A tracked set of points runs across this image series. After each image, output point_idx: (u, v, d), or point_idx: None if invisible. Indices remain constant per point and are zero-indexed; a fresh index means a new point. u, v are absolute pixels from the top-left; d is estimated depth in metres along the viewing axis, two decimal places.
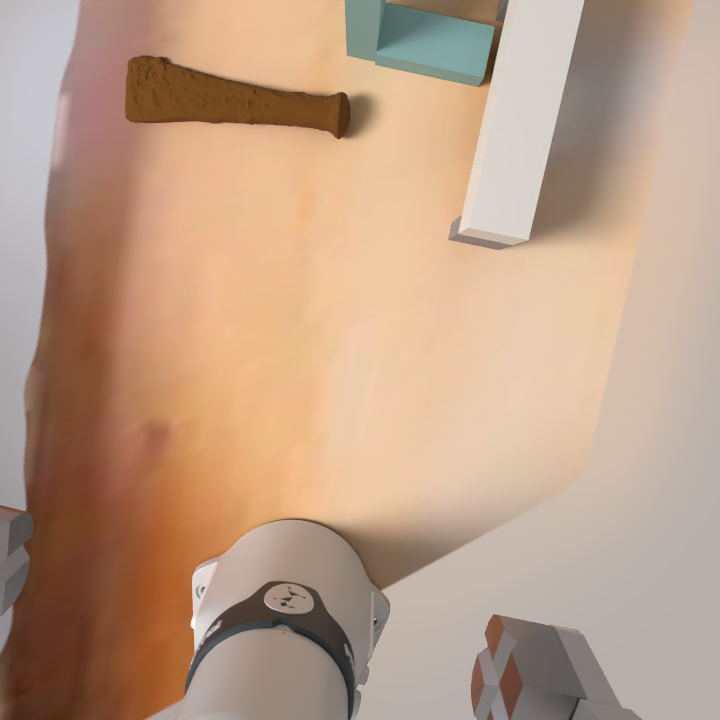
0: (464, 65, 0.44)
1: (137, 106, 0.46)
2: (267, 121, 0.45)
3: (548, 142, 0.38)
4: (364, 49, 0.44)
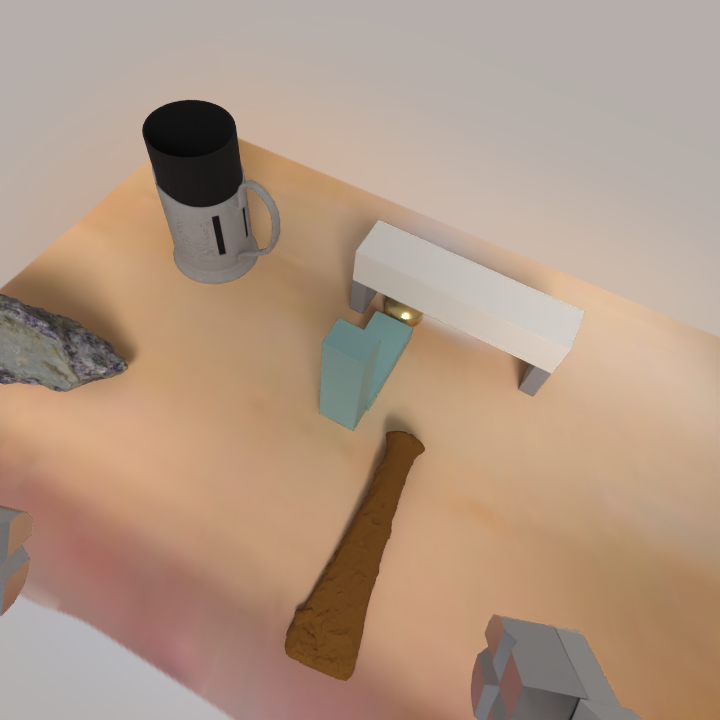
0: (399, 338, 0.51)
1: (339, 659, 0.39)
2: (393, 512, 0.44)
3: (509, 279, 0.47)
4: (362, 409, 0.47)
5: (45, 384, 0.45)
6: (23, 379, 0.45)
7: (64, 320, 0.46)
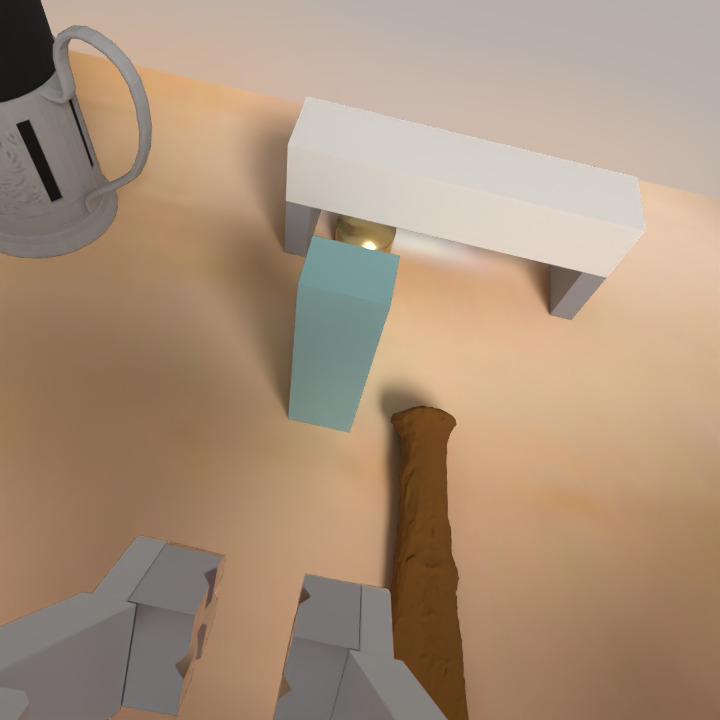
0: None
1: None
2: None
3: (524, 151, 0.31)
4: None
5: None
6: None
7: None
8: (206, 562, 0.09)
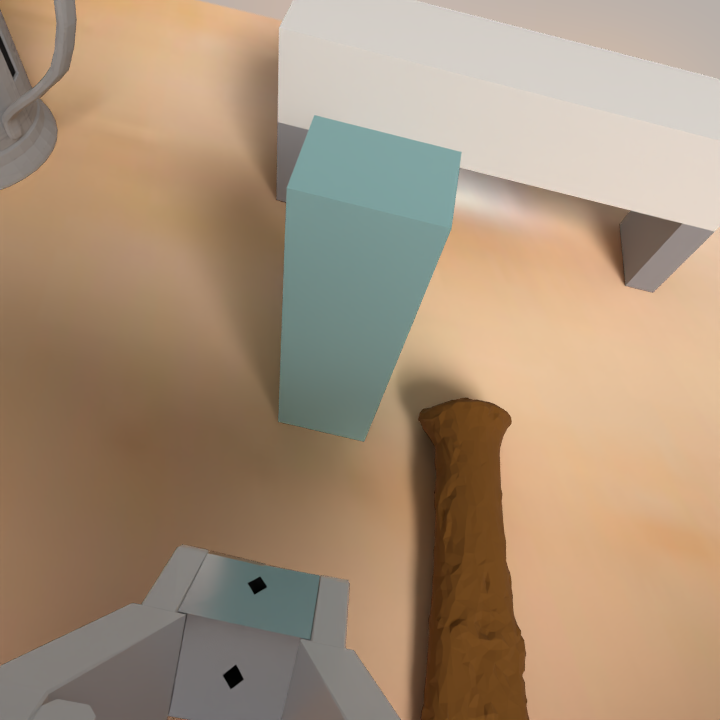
0: None
1: None
2: (508, 588, 0.18)
3: (609, 52, 0.23)
4: None
5: None
6: None
7: None
8: (248, 571, 0.09)
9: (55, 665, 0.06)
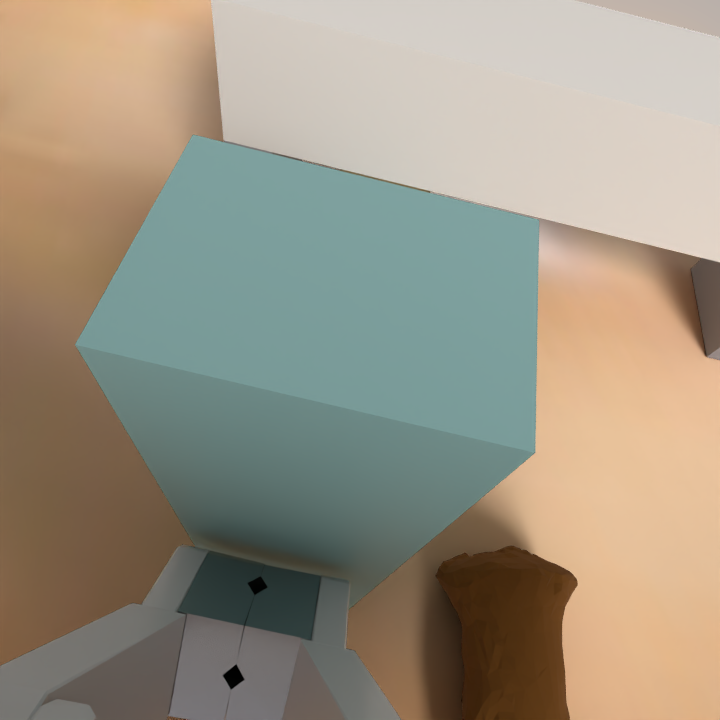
0: None
1: None
2: None
3: (708, 37, 0.15)
4: None
5: None
6: None
7: None
8: (249, 571, 0.09)
9: (56, 665, 0.06)
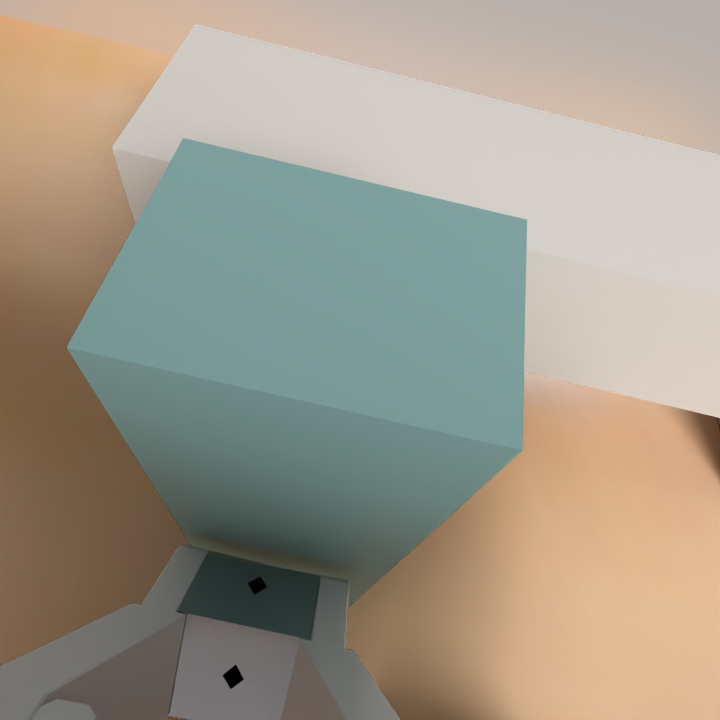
0: None
1: None
2: None
3: None
4: None
5: None
6: None
7: None
8: (248, 571, 0.09)
9: (55, 665, 0.06)
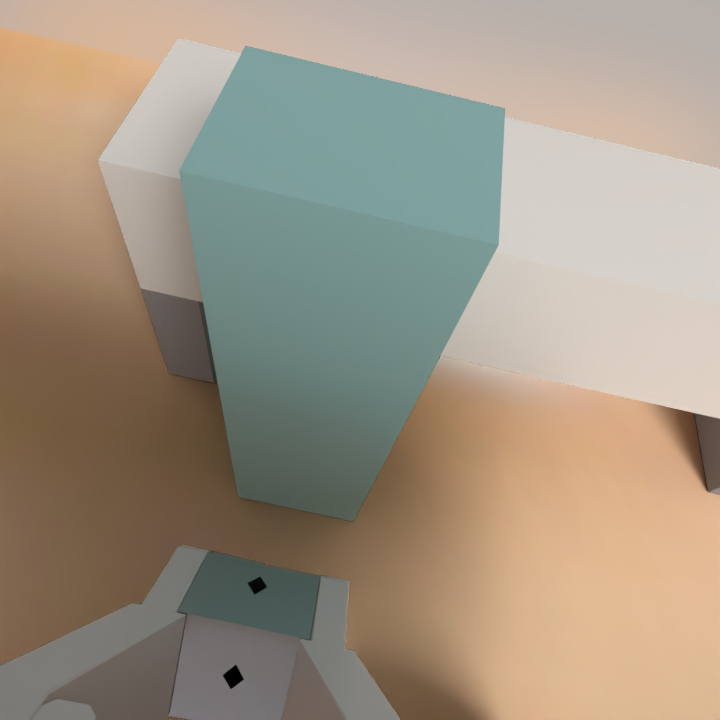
0: None
1: None
2: None
3: (707, 170, 0.13)
4: None
5: None
6: None
7: None
8: (248, 571, 0.09)
9: (56, 665, 0.06)
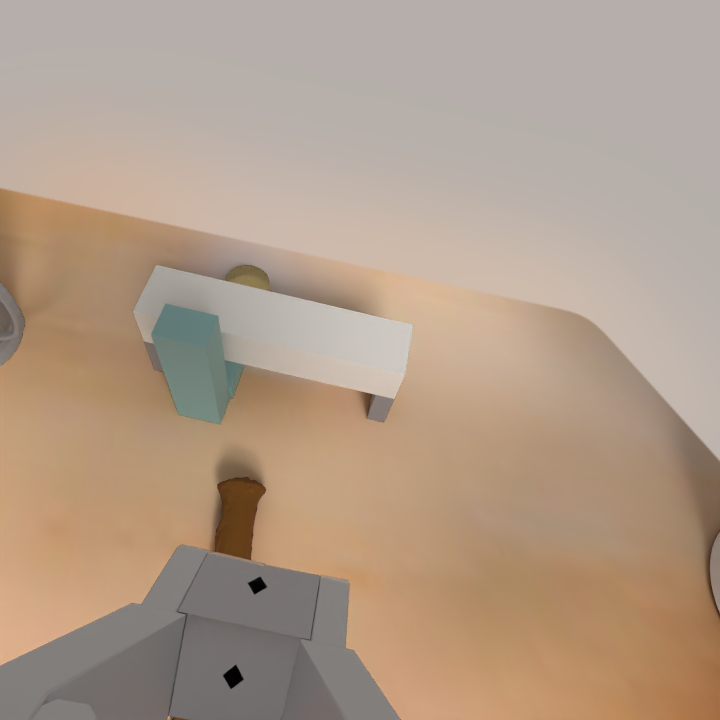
0: None
1: None
2: None
3: (324, 306, 0.41)
4: (224, 399, 0.43)
5: None
6: None
7: None
8: (249, 570, 0.09)
9: (56, 665, 0.06)
